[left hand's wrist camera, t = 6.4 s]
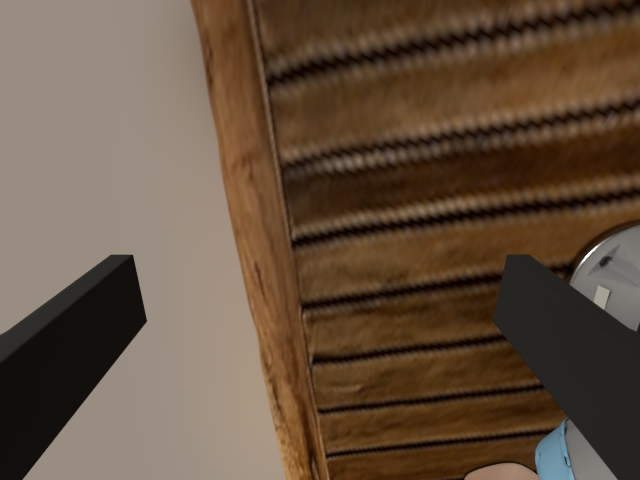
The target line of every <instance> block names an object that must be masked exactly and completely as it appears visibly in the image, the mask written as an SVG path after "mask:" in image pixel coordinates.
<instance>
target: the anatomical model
mask: <svg viewBox="0 0 640 480" xmlns="http://www.w3.org/2000/svg"><path fill="white" fill-rule="evenodd" d="M464 480H539V476H538V475H537V474H536V473H534V472H533V471H531V470H530V469H528V468H526V467H525V466H522V465H520V464H515V463H502V464H496V465H492V466H488V467H484V468H481V469H478V470H475V471H473V472H471V473H469V474H468V475H467V476H466V477H465V479H464Z"/></svg>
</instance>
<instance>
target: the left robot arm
mask: <svg viewBox="0 0 640 480" xmlns="http://www.w3.org/2000/svg"><path fill="white" fill-rule="evenodd" d="M146 322H147V319H146V314H145V310H144V305H143V300H142V295H141V291H140V286H139V281H138V276H137V272H136V267H135V262H134V258H133V255H110V256H109V257H107V258H106V259H105V260H103V261H102V262H101V263H99V264H98V265H96V266H95V267H94V268H92V269H91V270H90V271H88V272H87V273H86V274H84V275H83V276H82V277H80V278H79V279H77V280H76V281H75V282H73V283H72V284H71V285H69V286H68V287H67V288H65V289H64V290H62V291H61V292H60V293H58V294H57V295H56V296H54V297H53V298H52V299H50V300H49V301H47V302H46V303H45V304H43V305H42V306H41V307H39V308H38V309H37V310H35V311H34V312H33V313H31V314H30V315H29V316H27V317H26V318H24V319H23V320H22V321H20V322H19V323H18V324H16V325H15V326H14V327H12V328H11V329H9V330H8V331H7V332H5V333H3V334H1V335H0V480H23V478H24V477H25V476H26V475H27V473H28V472H29V471H30V469H31V468H32V467H33V466H34V464H35V463H36V462H37V461H38V459H39V458H40V457H41V455H42V454H43V453H44V452H45V450H46V449H47V448H48V447H49V445H50V444H51V443H52V441H53V440H54V439H55V438H56V436H57V435H58V434H59V433H60V431H61V430H62V429H63V427H64V426H65V425H66V424H67V422H68V421H69V420H70V419H71V417H72V416H73V415H74V413H75V412H76V411H77V410H78V408H79V407H80V406H81V405H82V403H83V402H84V401H85V400H86V398H87V397H88V396H89V394H90V393H91V392H92V391H93V389H94V388H95V387H96V385H97V384H98V383H99V382H100V380H101V379H102V378H103V377H104V375H105V374H106V373H107V371H108V370H109V369H110V368H111V366H112V365H113V364H114V363H115V361H116V360H117V359H118V358H119V356H120V355H121V354H122V352H123V351H124V350H125V349H126V347H127V346H128V345H129V344H130V342H131V341H132V340H133V338H134V337H135V336H136V335H137V333H138V332H139V331H140V330H141V328H142V327H143V326H144V324H145V323H146ZM493 322H494V323H495V324H496V326H497V327H498V328H499V330H500V331H501V332H502V333H503V335H504V336H505V337H506V338H507V340H508V341H509V342H510V344H511V345H512V346H513V347H514V349H515V350H516V351H517V352H518V354H519V355H520V356H521V358H522V359H523V360H524V361H525V363H526V364H527V365H528V366H529V368H530V369H531V370H532V372H533V373H534V374H535V375H536V377H537V378H538V379H539V380H540V382H541V383H542V384H543V386H544V387H545V388H546V389H547V391H548V392H549V393H550V394H551V396H552V397H553V398H554V400H555V401H556V402H557V403H558V405H559V406H560V407H561V408H562V410H563V411H564V412H565V414H566V415H567V416H568V417H569V418H566V419H565V420H563V421H562V423H561V425H560V426H559V427H558V428H557V429H555V430H554V431H553V432H551V433H550V434H549V435H548V436H546V437H545V438H544V439H542V440H541V441H540V443H539V444H538V446H537V448H536V452H535V462H536V467H537V473H538V476H539V480H640V220H637V221H632V222H628V223H625V224H621V225H619V226H616V227H614V228H612V229H610V230H608V231H606V232H604V233H603V234H601V235H600V236H598V237H597V238H595V239H594V240H593V241H591V242H590V243H589V244H588V245H587V246H586V247H585V248H583V250H582V251H581V252H580V253H579V254H578V255H577V256H576V258H575V259H574V260H573V262H572V263H571V265H570V267H569V269H568V271H567V273H566V275H565V278H564V280H563V279H561V278H560V277H559V276H557V275H556V274H554V273H553V272H552V271H550V270H549V269H548V268H546V267H545V266H544V265H542V264H541V263H539V262H538V261H537V260H535V259H534V258H533V257H531V256H530V255H507V258H506V262H505V267H504V272H503V276H502V281H501V286H500V291H499V295H498V300H497V305H496V310H495V314H494V319H493Z"/></svg>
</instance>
